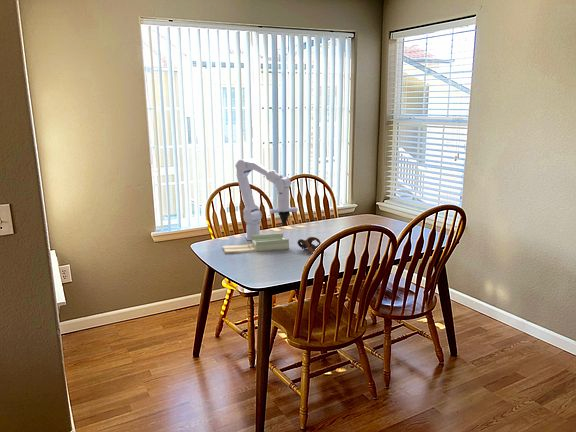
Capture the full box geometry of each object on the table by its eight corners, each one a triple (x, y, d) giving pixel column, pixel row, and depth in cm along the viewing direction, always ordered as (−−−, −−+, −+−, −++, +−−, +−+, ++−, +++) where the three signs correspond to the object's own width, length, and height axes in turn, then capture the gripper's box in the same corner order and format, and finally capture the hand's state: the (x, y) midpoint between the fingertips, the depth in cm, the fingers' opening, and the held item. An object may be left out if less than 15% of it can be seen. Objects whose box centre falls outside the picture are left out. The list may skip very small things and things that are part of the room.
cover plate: (222, 249, 255) (222, 245, 254) (251, 246, 258) (251, 243, 258) (225, 255, 244) (225, 251, 244) (255, 252, 248) (255, 249, 247)
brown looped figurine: (319, 248, 253) (323, 237, 247) (317, 261, 246) (321, 250, 240) (296, 242, 253) (300, 231, 247) (294, 255, 246) (297, 244, 240)
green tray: (251, 244, 259) (251, 235, 258) (283, 242, 263) (282, 232, 262) (256, 251, 247) (255, 242, 246) (288, 249, 251) (288, 239, 250)
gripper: (271, 202, 249) (272, 228, 252) (299, 201, 253) (299, 226, 256) (268, 200, 256) (269, 225, 259) (295, 198, 259) (295, 223, 262)
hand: (284, 225), depth 258 cm, fingers closed
